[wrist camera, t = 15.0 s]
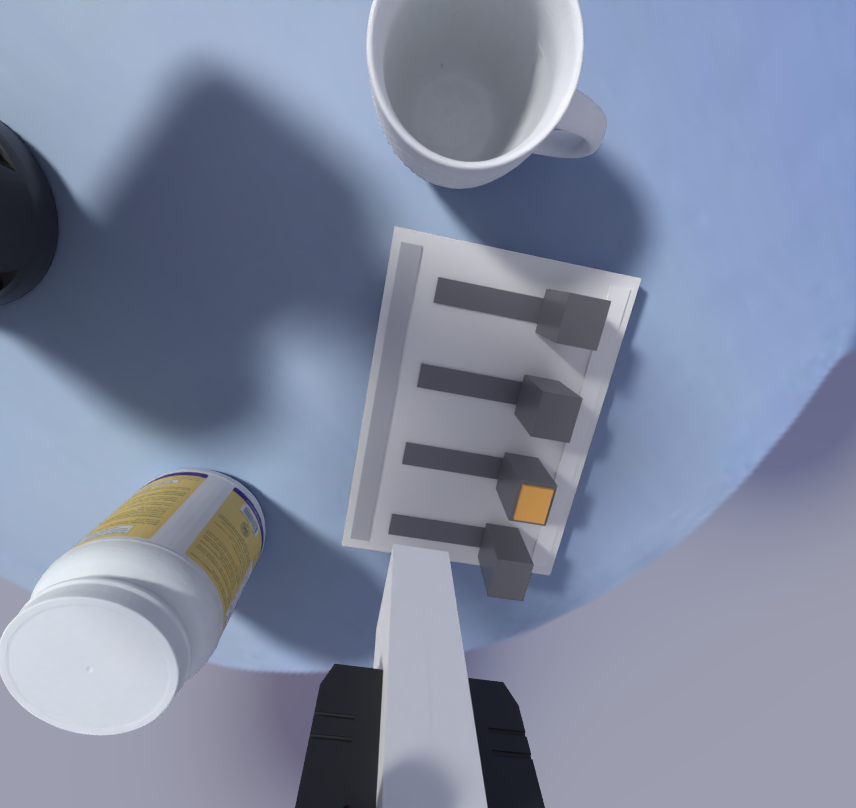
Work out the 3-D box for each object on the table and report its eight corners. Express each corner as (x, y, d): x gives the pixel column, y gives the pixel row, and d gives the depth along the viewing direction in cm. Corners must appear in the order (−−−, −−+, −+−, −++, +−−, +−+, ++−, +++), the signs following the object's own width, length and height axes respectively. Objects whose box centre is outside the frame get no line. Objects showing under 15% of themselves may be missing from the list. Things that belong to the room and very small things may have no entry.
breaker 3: (495, 488, 42) (509, 522, 36) (504, 452, 41) (520, 481, 35) (528, 493, 42) (546, 528, 37) (538, 457, 41) (558, 487, 36)
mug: (591, 85, 36) (691, -13, 23) (542, 234, 38) (609, 219, 26) (399, 18, 34) (396, -128, 21) (363, 179, 37) (342, 134, 24)
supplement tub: (119, 551, 45) (-43, 713, 28) (158, 441, 42) (3, 551, 26) (244, 595, 47) (159, 770, 30) (289, 493, 44) (222, 626, 28)
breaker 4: (477, 556, 44) (487, 596, 38) (486, 523, 43) (497, 559, 38) (508, 560, 44) (523, 601, 39) (518, 527, 43) (533, 564, 38)
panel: (344, 533, 45) (341, 546, 43) (395, 228, 38) (394, 225, 36) (544, 563, 47) (550, 576, 45) (630, 277, 40) (642, 278, 38)
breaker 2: (514, 414, 40) (530, 436, 35) (524, 374, 39) (542, 391, 34) (548, 420, 40) (569, 443, 35) (559, 380, 39) (582, 398, 34)
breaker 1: (535, 332, 38) (555, 343, 33) (546, 288, 37) (569, 292, 32) (570, 339, 38) (596, 351, 33) (582, 296, 38) (611, 300, 32)
